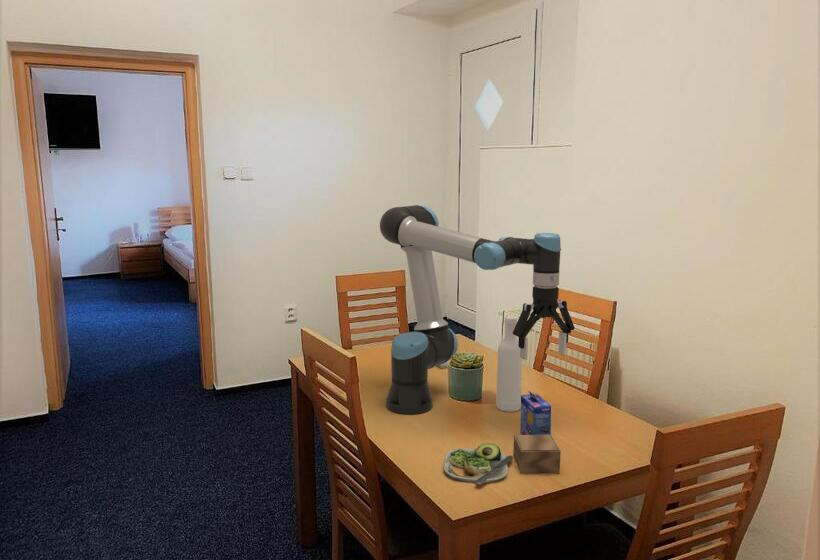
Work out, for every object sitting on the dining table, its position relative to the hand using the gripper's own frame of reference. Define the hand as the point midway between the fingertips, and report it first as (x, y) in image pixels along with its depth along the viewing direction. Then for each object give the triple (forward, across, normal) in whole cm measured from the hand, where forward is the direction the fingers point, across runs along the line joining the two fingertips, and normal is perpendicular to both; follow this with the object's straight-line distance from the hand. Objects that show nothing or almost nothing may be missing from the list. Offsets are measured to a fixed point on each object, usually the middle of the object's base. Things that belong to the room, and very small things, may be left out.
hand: (543, 356), depth 192 cm
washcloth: (+22, 0, +68) cm, 71 cm away
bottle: (+21, -2, +15) cm, 26 cm away
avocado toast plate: (+22, -32, -18) cm, 42 cm away
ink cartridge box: (+22, -8, -9) cm, 25 cm away
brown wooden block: (+21, -17, -22) cm, 35 cm away
